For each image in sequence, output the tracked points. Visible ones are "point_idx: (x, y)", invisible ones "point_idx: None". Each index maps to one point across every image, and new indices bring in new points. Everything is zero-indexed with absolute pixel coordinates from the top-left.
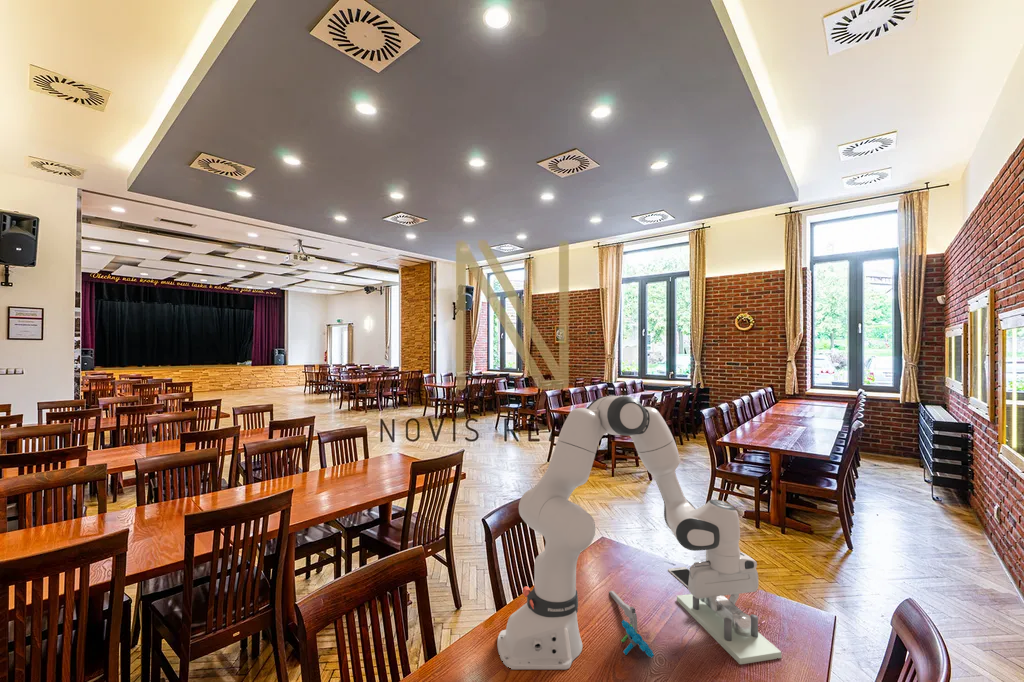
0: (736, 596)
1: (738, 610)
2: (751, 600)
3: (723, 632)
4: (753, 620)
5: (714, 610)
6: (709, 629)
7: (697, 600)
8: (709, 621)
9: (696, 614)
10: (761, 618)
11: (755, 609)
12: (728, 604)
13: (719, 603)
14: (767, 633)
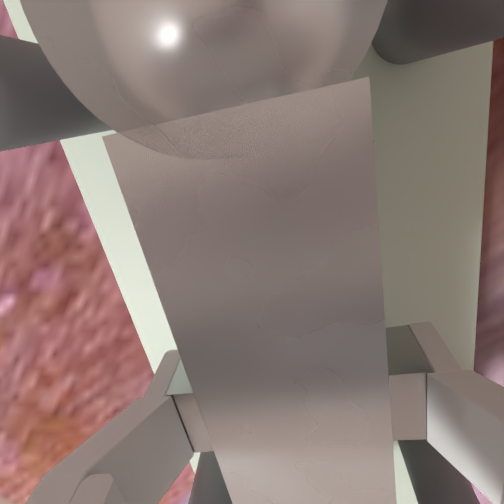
0: (77, 485)
1: (179, 199)
2: (19, 460)
3: (387, 135)
4: (11, 46)
5: (430, 332)
6: (478, 196)
7: (449, 481)
8: (416, 287)
9: (467, 367)
10: (5, 331)
11: (18, 401)
12: (275, 359)
13: (387, 397)
14: (6, 187)
